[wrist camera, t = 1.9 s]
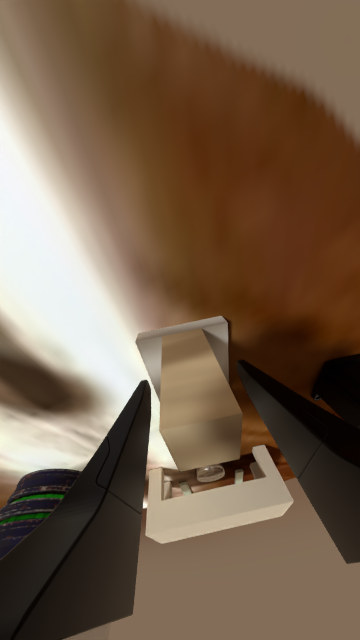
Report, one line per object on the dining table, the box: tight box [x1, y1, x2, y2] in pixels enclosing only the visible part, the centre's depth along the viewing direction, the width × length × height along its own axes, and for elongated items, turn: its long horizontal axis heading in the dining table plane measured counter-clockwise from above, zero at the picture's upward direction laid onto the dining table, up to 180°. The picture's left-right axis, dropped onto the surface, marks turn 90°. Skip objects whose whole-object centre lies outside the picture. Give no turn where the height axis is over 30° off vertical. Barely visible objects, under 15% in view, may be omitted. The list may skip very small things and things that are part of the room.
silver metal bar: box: [136, 316, 242, 472], centre depth 14 cm, size 24×7×8 cm, turn 10°
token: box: [196, 463, 225, 482], centre depth 25 cm, size 5×5×2 cm
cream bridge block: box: [146, 445, 294, 544], centre depth 23 cm, size 20×9×6 cm, turn 100°
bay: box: [179, 469, 244, 495], centre depth 30 cm, size 13×11×1 cm
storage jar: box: [0, 469, 81, 560], centre depth 15 cm, size 10×10×15 cm
